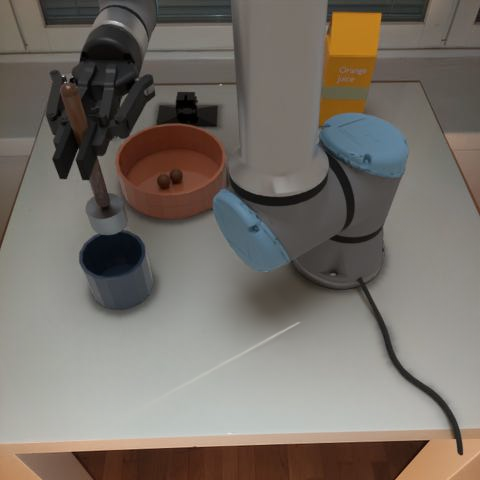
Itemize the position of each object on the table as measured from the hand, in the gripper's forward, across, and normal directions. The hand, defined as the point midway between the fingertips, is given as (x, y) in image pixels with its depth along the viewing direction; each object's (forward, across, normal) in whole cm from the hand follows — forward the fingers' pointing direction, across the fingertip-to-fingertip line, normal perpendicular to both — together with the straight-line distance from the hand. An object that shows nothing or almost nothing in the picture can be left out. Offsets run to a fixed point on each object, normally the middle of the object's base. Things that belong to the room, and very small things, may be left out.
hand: (71, 169), depth 51 cm
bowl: (-28, -5, -26) cm, 38 cm away
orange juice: (-51, -36, -26) cm, 68 cm away
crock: (-4, 0, -26) cm, 26 cm away
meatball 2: (-28, -5, -24) cm, 37 cm away
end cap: (-45, +12, -26) cm, 54 cm away
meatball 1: (-26, -3, -24) cm, 36 cm away
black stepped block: (-49, -5, -26) cm, 56 cm away
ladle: (-6, 0, -14) cm, 15 cm away
